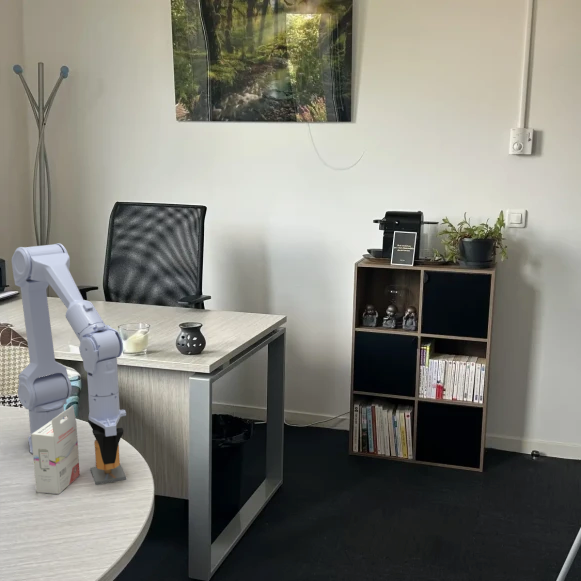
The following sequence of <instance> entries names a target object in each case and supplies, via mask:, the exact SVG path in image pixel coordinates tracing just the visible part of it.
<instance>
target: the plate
mask: <svg viewBox="0 0 581 581" xmlns="http://www.w3.org/2000/svg"><path fill="white" fill-rule="evenodd" d="M90 473H91V475H92V478H93V482H94V484H95V485H102V484H107V483H114V482H119V481H124V480H125V481H126V480H127V476H126V474H125V471H124V469H123V466H122V465H121V464H120V465H119V466H118V467H116V468H114V469H109V470H106V469H105V470H102V469H98V468H97V467H96V466H93V467H90Z"/></svg>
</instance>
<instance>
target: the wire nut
mask: <svg viewBox="0 0 581 581" xmlns="http://www.w3.org/2000/svg"><path fill="white" fill-rule="evenodd" d="M119 445H120V443H119V444H118V448H117V455H116V460H115V463H112V464H105V465H104V463H103V460H102V456H101V452H100V447H99V444H98V442H97V440H96V439H95V440H94V453H95V455H94V456H95V457H94V458H95V467H97V468H98V469H102V470H105V469H106V470H109V469H114V468H116V467H118V466H119V465H121V463H120V460H121V459H120V446H119Z"/></svg>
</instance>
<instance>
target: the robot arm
mask: <svg viewBox="0 0 581 581" xmlns="http://www.w3.org/2000/svg"><path fill="white" fill-rule="evenodd" d="M70 260H71V257H70V254H69V253H68V250H67V249H66V247H65V246H64V245H63V244H62V243H61V242H59V243H57V242H56V243H54V244H45V245H34V246H33V245H32V246H28V247H27V246H24V247H23V246H19V247H17V248H16V249H15V250H14V253H13V255H12V256H11V268H12V274H13V280H14V285H15V286H17V287H19V288H20V294H21V303H22V310H23V317H24V318H23V319H24V324H25V325H24V326H25V334H26V342H27V348H28V349H27V350H28V355H29V356H28V357H29V364H28V365H26V367H25V368H23V369H22V370H21V372H20V373H19V374H18V388H17V395H18V399H19V402H20V404H21V405H22V406H23V408H25V409H26V410H28V416H29V417H28V419H29V431H30V432H29V433H30V434H29V436H28V437H27V440H28V441H27V442H28V446H29V453H30V454H32V455H33V448H32V437H31V434H32V433H34V432H35V431H37V430H38V429H40V428H41V427H43V426H44V425H46V424H47V423H49V422H50V421H51V420H52V419H54V418H55V417H57V416H58V415H59V414H61V413H62V412H64V411H65V407H64V405H67V402H68V399H69V398H70V397H71V394H72V391H73V390H72V389H73V388H72V382H71V379H70V377H69V374H68V371H67V370H68V369H67V367H66V366H64V365H63V364H62V363H60V362H58V361H56V359H55V358H56V357H55V351H54V340H53V333H52V326H51V318H50V309H49V301H48V295H47V294H48V291H47V289H48V287H49V286H50V287H51V288H52V290H53V291H54V293H55V294H56V295H57V298H59V300H61V302H62V303H63V305H64V306H65V308H66V312H65V315H64V316H65V319H66V321H67V322H68V324H69V326H70V327H71V329H72V331H73V333H74V334H75V336H76V337H77V339H78V341H79V346H78V350H79V354H80V357H81V359H82V362H83V363H82V364H83V368H84V371H85V372H86V376H87V378H86V379H87V390H88V391H87V392H88V394H87V395H88V412H89V414H88V420H87V422H88V424H89V426H90V428H91V430H92V435H93V436H94V439H95V440H97V442H98V444H99V447H100V452H101V456H102V460H103V463H104V465H105V464H112V463H115V460H116V455H117V448H118V444H119V445H120V440H121V439H122V437H123V435H124V429H123V427H118V428H117V425H118V423H119V421H120V420H121V418H122V417H126V416H127V412H126V409H120V391H119V390H120V389H119V374H118V373H119V372H118V371H119V370H118V358H119V357H120V356H121V355H122V354H123V350H124V346H123V345H124V344H123V340H122V337H121V334H120V332H119V331H118V330H117V329H115V328H114V327H111V325H109V324H106V322H104V319H102V317H101V315H100V314H99V312H98V310H97V308H96V307H95V306H94V304H93V303H92V301H89V300H85V299H84V298H83V296H82V294H81V291H80V289H79V288H78V285H77V284H76V282H75V280H74V278H73V276H72V274H71V271H70V266H71V261H70ZM62 419H65V417H64V416H63V418H62Z"/></svg>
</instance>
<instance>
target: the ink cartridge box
mask: <svg viewBox="0 0 581 581" xmlns="http://www.w3.org/2000/svg"><path fill="white" fill-rule="evenodd" d="M74 407H75V406H73V405H71V406H70V407H69V408H67V409H64V412H62V413H61V414H59V415H58V416H57V417H55V418H54V419H52V420H51V421H50V422H49V423H47V424H46V425H44V426H43V427H41V428H40V429H38V430H37V431H35V432H34V433H32V434H30V436H31V437H32V448H33V454H32V458H33V467H34V468H33V470H34V478H35V480H34V481H35V489H36V490H35V492H36V493H43V494H51V495H52V494H53V495H59V494H61V493H62V492H63V491H64V490H66V488H68V486H70V485H71V484H72V483H73V482H74V481H75V480H76V479H77V478H78V477H79V476H80V459H79V458H80V456H79V445H78V428H77V419H76V415H75V414H76V413H75V408H74ZM63 416H64V419H62V418H63ZM66 417H67V418H66ZM65 418H66V419H65Z"/></svg>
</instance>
